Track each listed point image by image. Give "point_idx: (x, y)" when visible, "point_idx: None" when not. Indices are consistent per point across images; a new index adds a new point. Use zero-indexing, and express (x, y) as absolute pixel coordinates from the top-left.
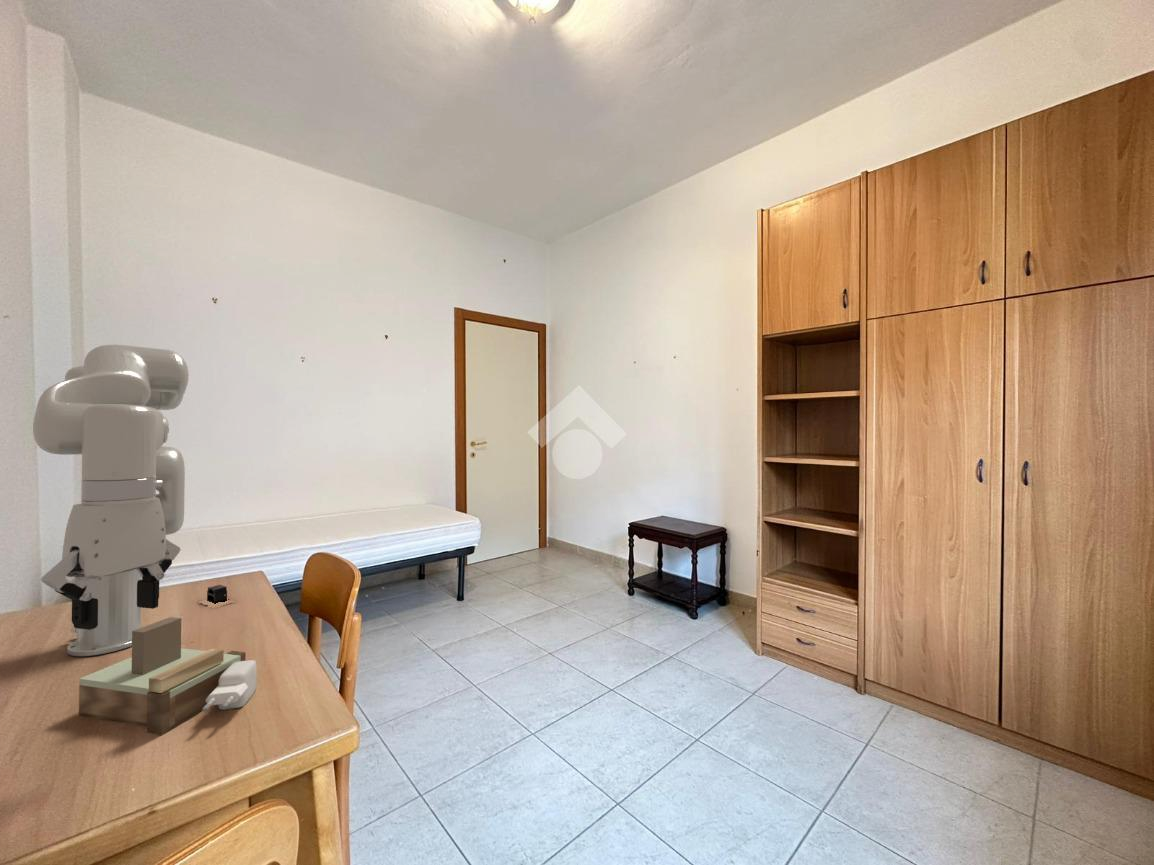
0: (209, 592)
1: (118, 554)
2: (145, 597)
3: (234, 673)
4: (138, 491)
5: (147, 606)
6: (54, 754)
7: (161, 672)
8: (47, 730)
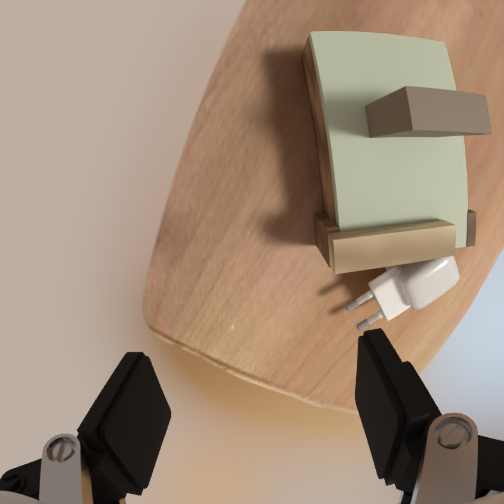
0: None
1: None
2: (368, 402)
3: (416, 299)
4: None
5: (357, 384)
6: (231, 143)
7: (357, 239)
8: (260, 58)
